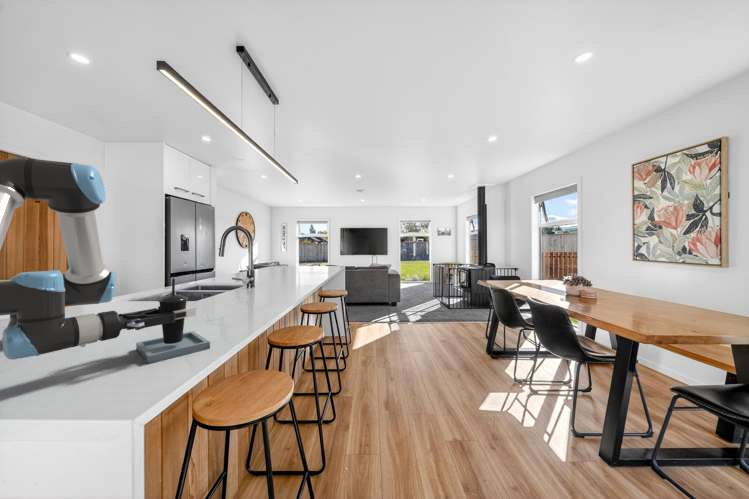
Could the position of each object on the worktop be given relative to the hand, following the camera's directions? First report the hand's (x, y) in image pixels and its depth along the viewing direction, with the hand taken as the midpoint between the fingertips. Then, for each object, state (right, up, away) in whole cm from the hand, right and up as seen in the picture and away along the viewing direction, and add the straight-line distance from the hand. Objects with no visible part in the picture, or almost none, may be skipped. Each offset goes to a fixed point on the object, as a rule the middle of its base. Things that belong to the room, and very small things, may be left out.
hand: (190, 310), depth 97 cm
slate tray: (-3, -12, -4) cm, 13 cm away
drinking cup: (-3, -9, -4) cm, 11 cm away
